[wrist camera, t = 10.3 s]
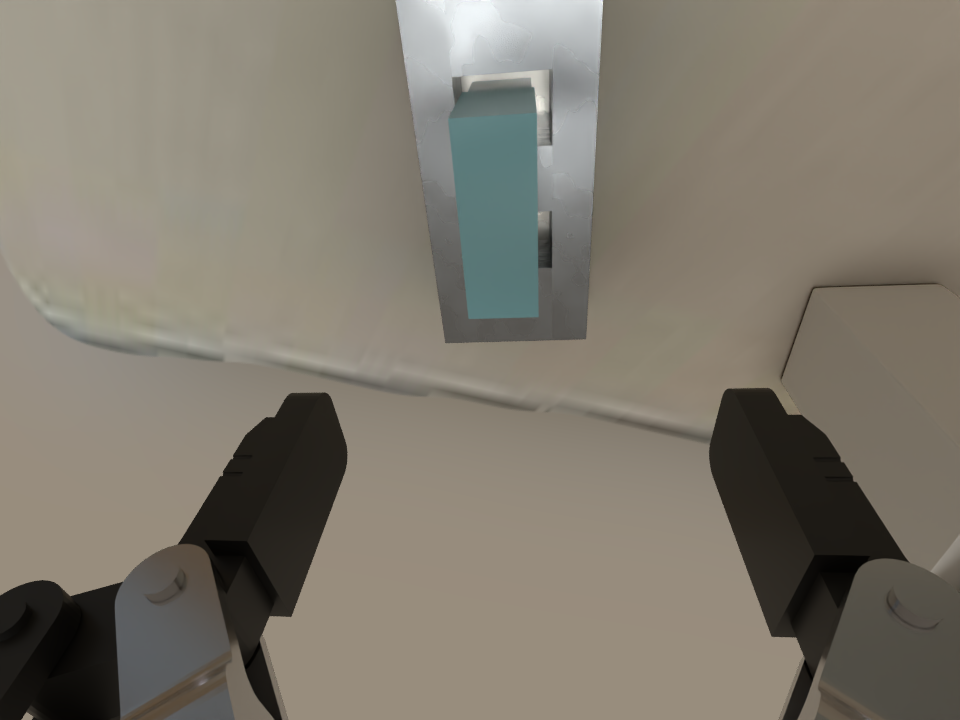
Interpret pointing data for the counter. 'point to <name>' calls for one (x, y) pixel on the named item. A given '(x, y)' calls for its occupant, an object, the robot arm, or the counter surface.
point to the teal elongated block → (497, 196)
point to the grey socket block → (560, 142)
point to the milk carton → (890, 406)
